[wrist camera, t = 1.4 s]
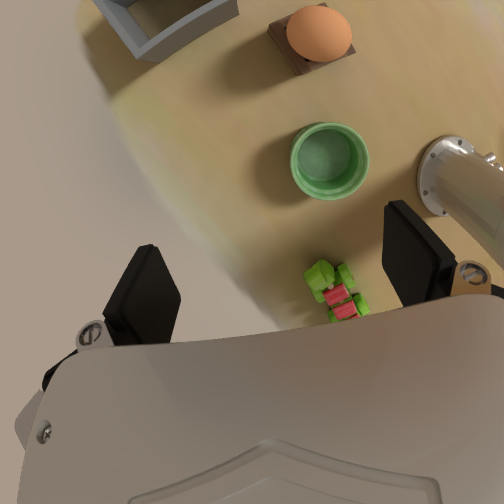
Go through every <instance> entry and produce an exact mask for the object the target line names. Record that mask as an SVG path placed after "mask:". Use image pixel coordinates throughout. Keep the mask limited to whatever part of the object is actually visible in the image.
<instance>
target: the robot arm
mask: <svg viewBox="0 0 504 504" xmlns="http://www.w3.org/2000/svg"><path fill="white" fill-rule="evenodd" d="M495 160H496V158H495V155H494V154H493V153H492V152H490V153H488V154H487V155H485V156H482V155H480V154H478V153H477V152H476V150H475V148H474V147H473V146H472V144H471V143H470V142H468V141H467V140H466V139H464V138H462V137H459V136H456V135H446V136H443V137H440V138H438V139H437V140H435V141H434V142H433V143H432V144H431V145H430V146H429V147H428V148H427V150H426V151H425V153H424V155H423V157H422V159H421V161H420V164H419V168H418V173H417V189H418V194H419V196H420V199H421V201H422V203H423V204H424V206H425V207H426V208H427V209H428V210H429V211H431V212H432V213H433V214H436V215H438V216H443V217H445V216H451V217H452V218H453V219H454V220H456V221H457V222H458V223H459V224H460V225H461V226H462V227H463V228H464V229H465V230H466V231H467V232H468V233H469V234H470V235H471V236H472V237H473V238H474V239H475V240H476V241H477V242H478V243H479V244H480V245H481V246H482V247H483V248H484V249H485V250H486V252H487V253H488V254H489V255H490V256H491V257H492V258H493V259H494V260H495V261H496V263H497V264H498V265H499V266H500V267H501V268H502V269H503V270H504V171H503V170H502V167H501V165H500V164H499V163H495V164H493V165H492V164H490V163H492V162H493V161H495ZM382 266H383V269H384V271H385V272H386V274H387V276H388V278H389V280H390V282H391V283H392V285H393V287H394V289H395V291H396V293H397V295H398V297H399V299H400V301H401V303H402V305H403V307H402V308H398V309H394V310H389V311H385V312H381V313H376V314H372V315H367V316H363V317H358V318H353V319H348V320H343V321H338V322H332V323H327V324H321V325H315V326H310V327H304V328H298V329H291V330H285V331H278V332H271V333H264V334H256V335H249V336H240V337H231V338H222V339H212V340H201V341H189V342H176V343H170V340H171V336H172V332H173V329H174V325H175V321H176V317H177V314H178V310H179V306H180V302H181V297H180V293H179V291H178V289H177V287H176V285H175V283H174V281H173V279H172V277H171V275H170V273H169V270H168V268H167V266H166V264H165V262H164V260H163V258H162V255H161V253H160V251H159V249H158V247H154V246H153V245H152V244H149V245H144V246H140V247H139V248H138V249H137V251H136V252H135V254H134V256H133V257H132V259H131V261H130V263H129V264H128V267H127V268H126V270H125V272H124V273H123V275H122V277H121V279H120V281H119V283H118V284H117V286H116V288H115V290H114V292H113V294H112V296H111V297H110V300H109V302H108V303H107V305H106V307H105V309H104V311H103V313H102V314H103V315H104V317H105V321H104V322H103V321H101V320H94V321H92V322H89V323H88V324H86V325H85V326H84V327H83V328H82V329H81V330H80V331H79V333H78V335H77V337H76V346H77V349H76V350H75V351H74V352H72V353H71V354H69V355H68V356H67V357H65V358H64V359H63V360H61V361H60V362H59V363H58V364H56V365H55V366H53V367H52V368H51V369H49V370H48V371H47V372H46V373H45V375H44V379H43V382H42V388H43V391H41V390H39V391H38V392H37V393H36V394H35V395H34V396H33V398H32V399H31V400H30V401H29V403H28V404H27V405H26V406H25V407H24V409H23V410H22V411H21V413H20V414H19V415H18V417H17V418H16V421H15V431H16V434H17V435H18V438H19V440H20V442H21V443H22V445H23V447H24V449H25V451H26V452H25V456H24V460H23V466H22V471H21V476H20V483H19V490H18V498H17V504H504V288H501V287H499V286H496V285H493V284H491V275H490V273H489V271H488V270H487V269H486V268H485V266H483V265H482V264H480V263H478V262H475V261H470V260H468V261H462V262H460V263H459V264H458V263H457V262H456V260H455V255H454V254H453V253H452V252H451V251H450V249H449V248H448V247H447V246H446V245H445V244H444V243H443V241H442V240H441V239H440V238H439V237H438V236H437V235H436V234H435V233H434V231H433V230H432V229H431V228H430V227H429V226H428V225H427V224H426V223H425V222H424V221H423V220H422V219H421V218H420V217H419V216H418V215H417V214H416V213H415V212H414V211H413V210H412V209H411V208H410V207H409V206H408V205H407V204H406V203H405V202H404V201H403V200H396V201H389V203H388V205H387V206H385V208H384V233H383V251H382Z"/></svg>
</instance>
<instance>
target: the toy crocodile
mask: <svg viewBox="0 0 504 504" xmlns="http://www.w3.org/2000/svg"><path fill="white" fill-rule="evenodd" d="M337 269H338V271H336V272H334V268H333V266H332V265H331V264H329V263H328V262H327V261H325V260H324V259H321V260H320V261H318V262H317V263H316V264H315V265H313V266H312V267H311V268H309V269H308V270H307V271H306V272H304V273H303V278H304V280H305V281H306V283H307V284H308V285H309V286H310V289H311V291H312V293H313V295H314V297H315V299H316V300H317V301H318V303H322V302H324V301H327V303H328V305H329V306H331V308H332V309H331V310H329V311H328V317H329V319H330V321H331V323H332V322H338V321H343V320H348V319H353V318H358V317H363V316H365V314H367V313H368V312H370V309H369V307H368V305H367V303H366V301H365V299H364V297H363V296H362V294H361V293H359V294H357V295H355V296H354V297H353V299H352V296H351V294H350V291H349V289H350V288H352V287H354V286H356V282H355V280H354V278H353V275H352V274H351V272H350V270H349V268H348V266H347V265H346V263H343V264H341V265H339V266H338V267H337Z"/></svg>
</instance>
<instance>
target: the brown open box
mask: <svg viewBox="0 0 504 504" xmlns="http://www.w3.org/2000/svg"><path fill="white" fill-rule="evenodd" d="M316 6H324V7H328V6H327V5H326V3H322V4H319V5H316ZM292 15H293V14H292ZM292 15H289V16H287V17H284V18H282V19H280V20H277V21H275V22H273V23H270V24H269V28H268V33H269V34H270V36H271V37H272V38H273V40H274V41H275V43H276V44H277V46H278V47H279V49H280V50H281V52H282V53H283V55H284V56H285V58H286V60H287V61H288V63H289V64H290V66H291V67H292V69H293V71H294V72H295V74H296V76H299V75H304V74H306V73H308V72H310V71H312V70H315V69H317V68H319V67H322V66H324V65H326V64H329V63H331V62H334V61H336V60H339V59H341V58H344V57H346V56H349V55H352V54H354V53H356V51H355V50H354V48H353V46H352V44H350V47H349V49H348V50H347V51H346V53H345V54H344V55H342V56H341V57H339V58H337V59H335V60H332V61H328V62H317V61H312V60H311V61H309V62H306V61H305V59H304V57H303V56H301V55H300V54H298V53H297V52H296V51H295V50H294V49H293V48H292V46H291V45H290V43H289V41H288V38H287V33H286V28H287V24H288V21H289V19H290V18H291V16H292Z"/></svg>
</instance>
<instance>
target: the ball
mask: <svg viewBox="0 0 504 504" xmlns="http://www.w3.org/2000/svg"><path fill="white" fill-rule="evenodd" d="M286 33H287V38H288V41H289V43H290V45H291V46H292V48H293V49H294V50H295V51H296V52H297V53H298V54H300V55H301V56H303V57H305V58H307V59H309V60H312V61H317V62H328V61H332V60H335V59H337V58H339V57H341V56H342V55H344V54H345V53H346V51H347V50H348V49H349V47H350V44H351V41H352V32H351V28H350V26H349V24H348V22H347V21H346V19H345V18H344V17H343V16H342V15H341V14H339V13H338V12H337V11H335V10H333V9H331V8H328V7H324V6H307V7H304V8H302V9H300V10H298V11H296V12H295V13H294V14H293V15H292V16H291V18H290V19H289V21H288V24H287V28H286Z"/></svg>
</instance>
